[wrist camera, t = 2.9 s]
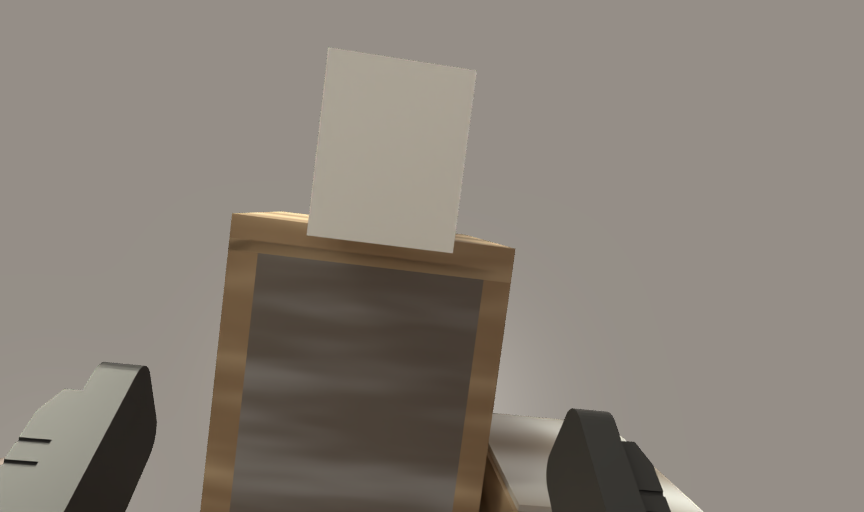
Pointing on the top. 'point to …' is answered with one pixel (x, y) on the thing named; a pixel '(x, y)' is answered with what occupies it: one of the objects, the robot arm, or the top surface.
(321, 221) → the white long block
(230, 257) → the step shelf
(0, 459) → the top surface
